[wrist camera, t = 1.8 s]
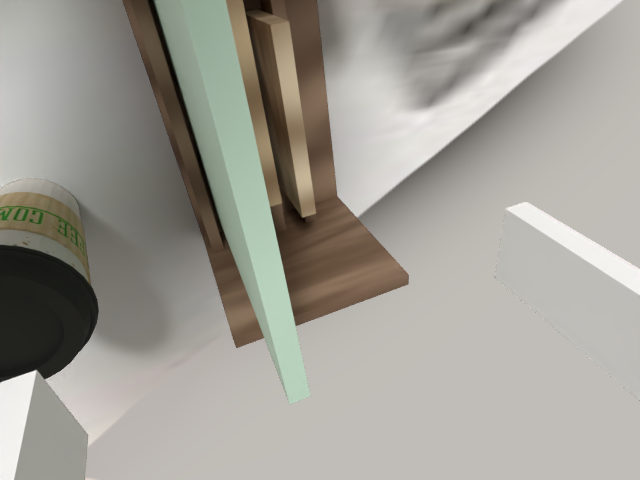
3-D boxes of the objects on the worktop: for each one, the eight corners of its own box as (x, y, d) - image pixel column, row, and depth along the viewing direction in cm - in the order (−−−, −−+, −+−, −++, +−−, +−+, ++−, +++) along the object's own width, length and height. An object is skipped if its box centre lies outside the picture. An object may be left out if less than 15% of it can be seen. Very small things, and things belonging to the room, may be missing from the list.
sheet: (116, -118, 26) (112, -259, 9) (136, -120, 26) (169, -261, 9) (216, 213, 40) (289, 404, 23) (229, 209, 40) (310, 395, 23)
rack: (62, -177, 25) (11, -301, 13) (288, -193, 28) (414, -303, 16) (203, 237, 43) (236, 348, 31) (332, 198, 46) (408, 284, 34)
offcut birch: (241, 11, 32) (270, 24, 26) (256, 8, 32) (289, 21, 26) (274, 177, 40) (302, 217, 34) (286, 174, 41) (316, 213, 34)
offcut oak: (171, -103, 27) (192, -126, 20) (190, -105, 28) (217, -129, 20) (235, 156, 38) (266, 207, 30) (248, 152, 38) (282, 203, 30)
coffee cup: (116, 176, 36) (115, 279, 25) (89, 270, 40) (78, 399, 28) (-29, 139, 31) (-116, 247, 20) (-45, 250, 35) (-127, 398, 23)
